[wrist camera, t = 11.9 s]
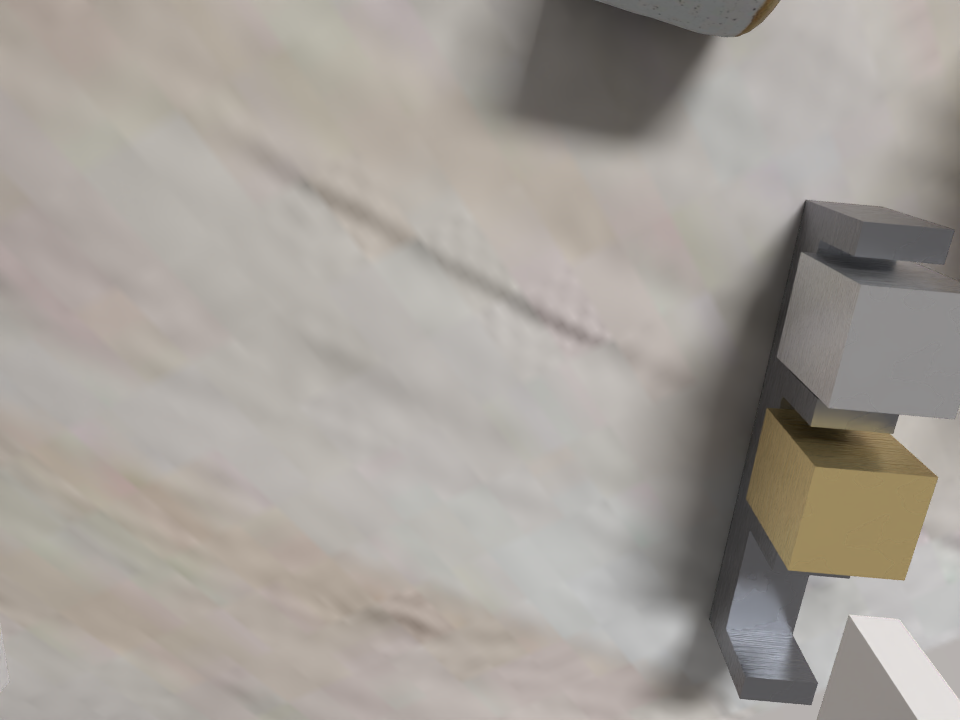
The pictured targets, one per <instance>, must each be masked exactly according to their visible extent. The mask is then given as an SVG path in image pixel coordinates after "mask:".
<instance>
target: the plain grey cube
mask: <svg viewBox="0 0 960 720" xmlns="http://www.w3.org/2000/svg"><path fill="white" fill-rule="evenodd" d="M777 358H778V359H779V360H780V361H781V362H782V363H783V364H784V365H785V366H786V367H787V368H788V369H789V370H790V371H791V372H792V373H793V374H794V375H796V376H797V377H798V378H799V379H800V380H801V381H802V382H803V383H804V384H805V385H806V386H807V387H808V388H809V389H810V390H811V391H812V392H813V393H814V394H815V395H816V396H817V397H818V398H819V399H820V400H821V401H822V402H823V403H824V404H825V405H826V406H827V407H828V408H834V409H845V410H856V411H867V412H878V413H889V414H900V415H911V416H922V417H934V418H945V419H955V417H956V414H957V411H958V408H959V405H960V282H959V281H957V280H954V279H952V278H949V277H947V276H945V275H942V274H940V273H938V272H935V271H933V270H931V269H928V268H926V267H924V266H921V265H919V264H917V263H914V262H910V261H899V260H887V259H876V258H865V257H854V256H843V255H832V254H821V253H810V252H801V254H800V259H799V263H798V267H797V272H796V276H795V280H794V284H793V289H792V293H791V297H790V301H789V306H788V310H787V314H786V319H785V323H784V327H783V331H782V336H781V340H780V344H779V348H778V353H777Z"/></svg>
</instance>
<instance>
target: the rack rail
mask: <svg viewBox="0 0 960 720" xmlns="http://www.w3.org/2000/svg"><path fill="white" fill-rule="evenodd" d="M953 234H954V229H951V228H948V227H944V226H941V225H938V224H935V223H932V222H929V221H926V220H922V219H919V218H916V217H913V216H910V215H907V214H903V213H900V212H897V211H894V210H891V209H888V208H884V207H878V206H867V205H856V204H845V203H834V202H823V201H812V200H806V202H805V207H804V211H803V215H802V220H801V224H800V228H799V233H798V237H797V241H796V246H795V250H794V254H793V259H792V263H791V267H790V272H789V276H788V280H787V285H786V289H785V293H784V298H783V302H782V306H781V311H780V315H779V319H778V324H777V328H776V332H775V337H774V341H773V345H772V350H771V354H770V358H769V363H768V367H767V371H766V376H765V380H764V384H763V389H762V393H761V397H760V402H759V406H758V410H757V415H756V419H755V423H754V428H753V432H752V436H751V441H750V445H749V449H748V454H747V458H746V462H745V467H744V471H743V475H742V480H741V484H740V488H739V493H738V497H737V501H736V506H735V510H734V514H733V519H732V523H731V527H730V532H729V536H728V540H727V545H726V549H725V553H724V558H723V562H722V566H721V571H720V575H719V579H718V584H717V588H716V592H715V597H714V601H713V605H712V610H711V614H710V618H709V620H710V623H711V625H712V628H713V630H714V633H715V636H716V638H717V641H718V643H719V646H720V649H721V651H722V654H723V656H724V659H725V662H726V664H727V667H728V669H729V672H730V674H731V677H732V680H733V682H734V685H735V687H736V690H737V693H738V695H739V698H740V699H748V700H759V701H770V702H782V703H793V704H804V705H811V704H812V701H813V698H814V694H815V691H816V688H817V684H818V682H817V681H816V679H815V677H814V675H813V673H812V671H811V669H810V667H809V665H808V663H807V662H806V660H805V658H804V656H803V654H802V652H801V650H800V648H799V646H798V645H797V643H796V641H795V639H794V637H793V631H794V627H795V624H796V620H797V617H798V613H799V610H800V606H801V602H802V599H803V595H804V592H805V588H806V585H807V581H808V577H809V575H815V576H827V577H838V578H850V576H847V575H836V574H824V573H812V572H801V571H789V570H788V569H787V568H786V566H785V564H784V562H783V561H782V559H781V557H780V556H779V554H778V552H777V551H776V549H775V547H774V545H773V544H772V542H771V540H770V539H769V537H768V535H767V534H766V532H765V530H764V528H763V527H762V525H761V523H760V522H759V520H758V518H757V517H756V515H755V513H754V512H753V510H752V508H751V506H750V505H749V503H748V501H747V500H746V496H747V491H748V487H749V483H750V478H751V474H752V470H753V465H754V461H755V457H756V452H757V448H758V444H759V439H760V435H761V431H762V426H763V422H764V418H765V413H766V409H767V408H777V409H789V410H796V411H797V412H798V413H799V414H800V415H801V416H802V418H803V419H804V420H805V421H806V422H807V423H808V424H809V425H810V426H811V427H822V428H833V429H844V430H856V431H867V432H878V433H889V434H893V433H894V429H895V426H896V423H897V419H898V416H899V414H889V413H878V412H867V411H856V410H845V409H834V408H828V407H827V406H826V405H825V404H824V403H823V402H822V401H821V400H820V399H819V398H818V397H817V396H816V395H815V394H814V393H813V392H812V391H811V390H810V389H809V388H808V387H807V386H806V385H805V384H804V383H803V382H802V381H801V380H800V379H799V378H798V377H797V376H796V375H794V374H793V373H792V372H791V371H790V370H789V369H788V368H787V367H786V366H785V365H784V364H783V363H782V362H781V361H780V360H779V359H778V358H777V353H778V348H779V344H780V340H781V336H782V331H783V327H784V323H785V319H786V314H787V310H788V306H789V301H790V297H791V293H792V289H793V284H794V280H795V276H796V272H797V267H798V263H799V259H800V254H801V252H810V253H821V254H832V255H843V256H854V257H865V258H876V259H887V260H899V261H910V262H921V263H932V264H943V265H944V264H945V260H946V257H947V254H948V250H949V247H950V244H951V240H952V237H953Z"/></svg>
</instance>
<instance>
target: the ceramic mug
mask: <svg viewBox="0 0 960 720" xmlns="http://www.w3.org/2000/svg"><path fill="white" fill-rule="evenodd" d="M595 1H598V2H601V3H605V4H608V5H611V6H614V7H617V8H620V9H623V10H626V11H629V12H632V13H635V14H639V15H643V16H647V17H651V18H654V19H657V20H660V21H663V22H666V23H669V24H672V25H675V26H678V27H681V28H684V29H687V30H690V31H693V32H696V33H700V34H707V35H714V36H721V37H738V36H740V35H743V34H745V33H747V32H749V31H751V30H752V29H754V28H755V27H756V26H758V25H759V24H760V23H762V22H763V21H764V20H765V18H766V17H767V16H768V15H769V14H770V13H771V12H772V11H773V10H774V8H775V7H776V6H777V4H778V3H779V1H780V0H595Z"/></svg>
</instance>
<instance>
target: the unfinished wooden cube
mask: <svg viewBox="0 0 960 720" xmlns="http://www.w3.org/2000/svg"><path fill="white" fill-rule="evenodd" d="M937 480H938V477H937V476H936V475H935V474H934V473H933V472H932V471H931V470H929V469H928V468H927V467H926V466H925V465H924V464H923V463H922V462H920V461H919V460H918V459H917V458H916V457H915V456H914V455H913V454H912V453H910V452H909V451H908V450H907V449H906V448H905V447H904V446H903V445H902V444H900V443H899V442H898V441H897V440H896V439H895V438H894V437H893V436H892V435H890V434H889V433H878V432H867V431H856V430H844V429H833V428H822V427H811V426H810V425H809V424H808V423H807V422H806V421H805V420H804V419H803V418H802V416H801V415H800V414H799V413H798V412H797V411H796V410H789V409H777V408H767V409H766V413H765V418H764V422H763V426H762V431H761V435H760V439H759V444H758V448H757V452H756V457H755V461H754V465H753V470H752V474H751V478H750V483H749V487H748V491H747V496H746V500H747V501H748V503H749V505H750V506H751V508H752V510H753V512H754V513H755V515H756V517H757V518H758V520H759V522H760V523H761V525H762V527H763V528H764V530H765V532H766V534H767V535H768V537H769V539H770V540H771V542H772V544H773V545H774V547H775V549H776V551H777V552H778V554H779V556H780V557H781V559H782V561H783V562H784V564H785V566H786V568H787V569H788V570H789V571H801V572H812V573H824V574H836V575H847V576H859V577H870V578H882V579H893V580H905V577H906V574H907V571H908V568H909V565H910V562H911V559H912V556H913V553H914V550H915V547H916V544H917V541H918V538H919V535H920V531H921V528H922V525H923V522H924V519H925V516H926V513H927V510H928V507H929V504H930V501H931V498H932V495H933V492H934V489H935V486H936V483H937Z"/></svg>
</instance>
